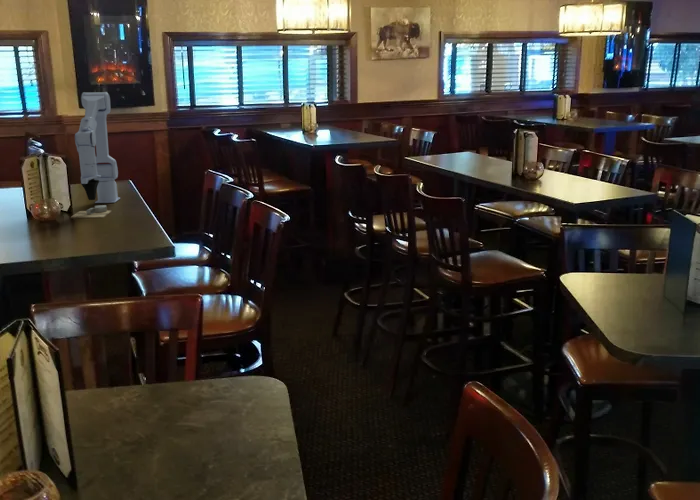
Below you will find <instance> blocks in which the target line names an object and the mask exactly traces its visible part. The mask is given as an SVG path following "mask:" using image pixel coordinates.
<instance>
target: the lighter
mask: <svg viewBox="0 0 700 500" xmlns="http://www.w3.org/2000/svg"><path fill="white" fill-rule="evenodd" d="M107 210H108V208H107V205H106V204H104V205H103V204H102V205H100V204H99V205H94V207H90V208H88V209H86V210H85V211H86V212H87V215H90V214H93V213H95V212H106V211H107Z"/></svg>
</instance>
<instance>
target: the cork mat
mask: <svg viewBox="0 0 700 500" xmlns="http://www.w3.org/2000/svg"><path fill="white" fill-rule="evenodd" d="M112 212H113V211H112V210H111V209H109V210H108V209H107V211H106V212H95V213H93V214H90V215H87V212H86V210H79V211H77V212H76V213H75V214H73V215H72V216H70V219H94V218H95V219H97V218H98V219H99V218H100V219H102V218H105V217H107V215H109V214H110V213H112Z"/></svg>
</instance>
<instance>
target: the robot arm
mask: <svg viewBox="0 0 700 500" xmlns="http://www.w3.org/2000/svg"><path fill="white" fill-rule="evenodd" d="M80 101H81V105H82V107H83V108H84V117H82V118H81V119H80V123H79V129H78V131H77V132H76V133H75V134H74V142H75V146H76V151H77V153H78V156H79V157H78V159H79V166H80V167H79V169H80V185H81V186H82V187H83V189H84V190H85V193H86V197H87V199H88V201H95V200H96V198H97V200H96V201H95V202H94V204H110V203H111V204H113V203H116V202H118V201H119V200H121V197H119V194H118V185H117V182H116V181H115V180H116V179H118V177H119V170H118V169H119V168H118V163H117V160H116V159H115V158H113V157H112V156H111V155H110V154H109V153H110V151H109V150H110V149H109V140H108V139H109V138H108V126H107V116H108V114H110V113H111V109H112V108H111V97H110V94H109V93H108V91H104V92H103V91H102V92H85V91H84V92H82V93H81V95H80ZM96 196H97V197H96Z"/></svg>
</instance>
